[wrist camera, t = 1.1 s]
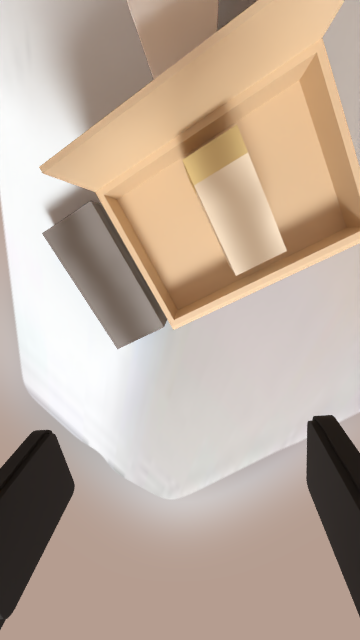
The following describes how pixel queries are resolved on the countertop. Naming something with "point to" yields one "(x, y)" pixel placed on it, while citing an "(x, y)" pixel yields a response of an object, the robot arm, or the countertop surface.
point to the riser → (106, 274)
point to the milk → (172, 28)
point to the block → (234, 201)
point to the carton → (261, 143)
